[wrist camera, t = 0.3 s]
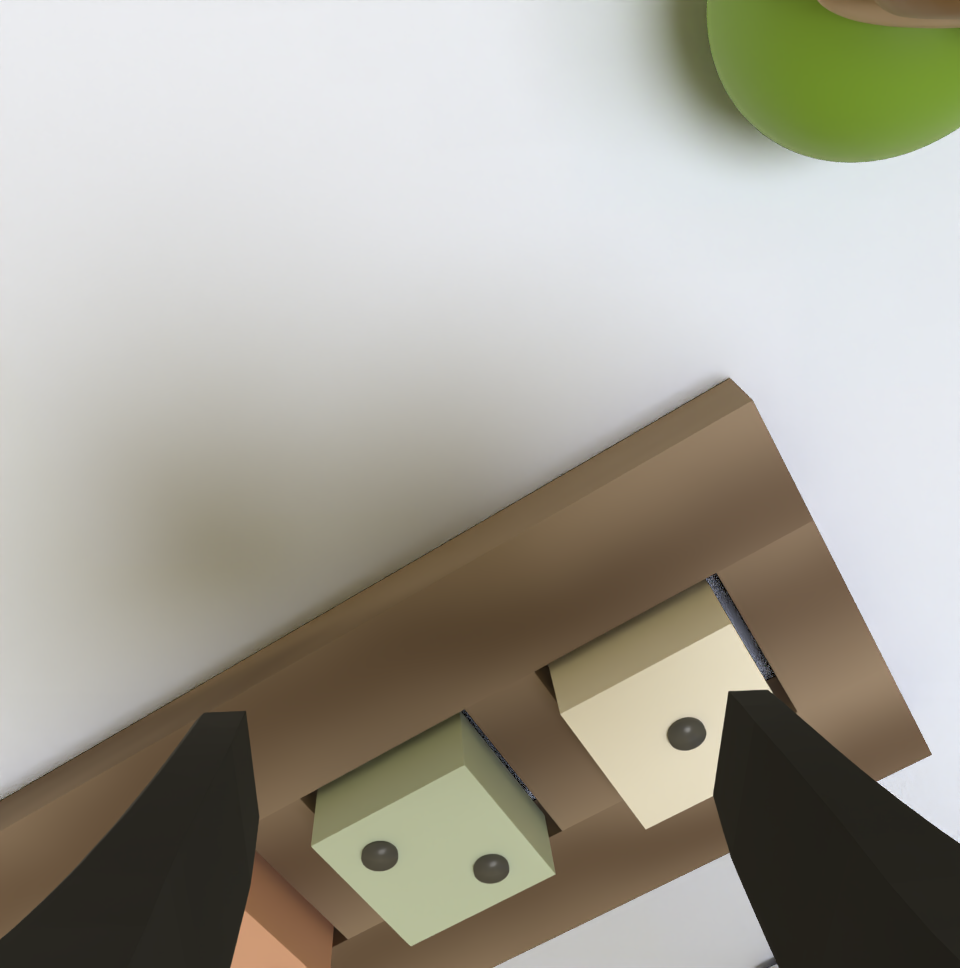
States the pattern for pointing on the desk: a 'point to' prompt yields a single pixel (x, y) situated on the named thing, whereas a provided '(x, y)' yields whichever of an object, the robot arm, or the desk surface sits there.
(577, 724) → the cream button
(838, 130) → the green wooden maraca
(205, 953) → the robot arm
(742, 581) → the button board
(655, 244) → the desk surface
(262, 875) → the terracotta button
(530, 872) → the sage button
